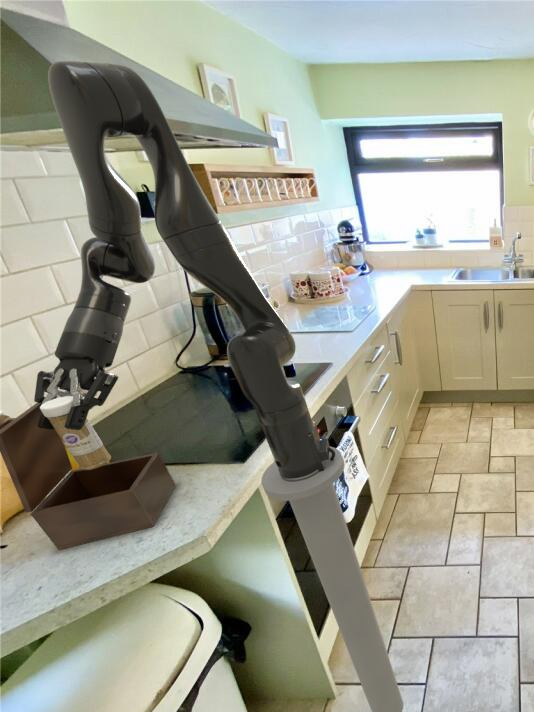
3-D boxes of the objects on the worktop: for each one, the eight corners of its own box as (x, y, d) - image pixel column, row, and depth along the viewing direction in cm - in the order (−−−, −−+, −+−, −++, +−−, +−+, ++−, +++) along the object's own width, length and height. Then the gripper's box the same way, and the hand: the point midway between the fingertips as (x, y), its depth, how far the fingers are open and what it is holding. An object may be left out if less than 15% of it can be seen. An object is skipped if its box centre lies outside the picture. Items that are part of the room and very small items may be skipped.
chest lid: (48, 398, 76) (9, 399, 74) (-1, 434, 65) (-48, 436, 63) (72, 468, 82) (37, 471, 80) (31, 511, 71) (-11, 516, 69)
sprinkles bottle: (78, 474, 75) (35, 411, 69) (83, 462, 79) (42, 400, 72) (111, 464, 78) (71, 402, 71) (114, 452, 81) (77, 392, 75)
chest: (176, 485, 90) (158, 452, 86) (153, 526, 79) (131, 491, 75) (94, 504, 86) (71, 470, 82) (58, 550, 75) (30, 514, 71)
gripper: (33, 330, 74) (-4, 424, 69) (105, 329, 73) (71, 425, 68) (79, 346, 81) (48, 432, 76) (145, 345, 80) (118, 433, 75)
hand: (59, 428), depth 72 cm, fingers closed on sprinkles bottle, 4 cm apart
